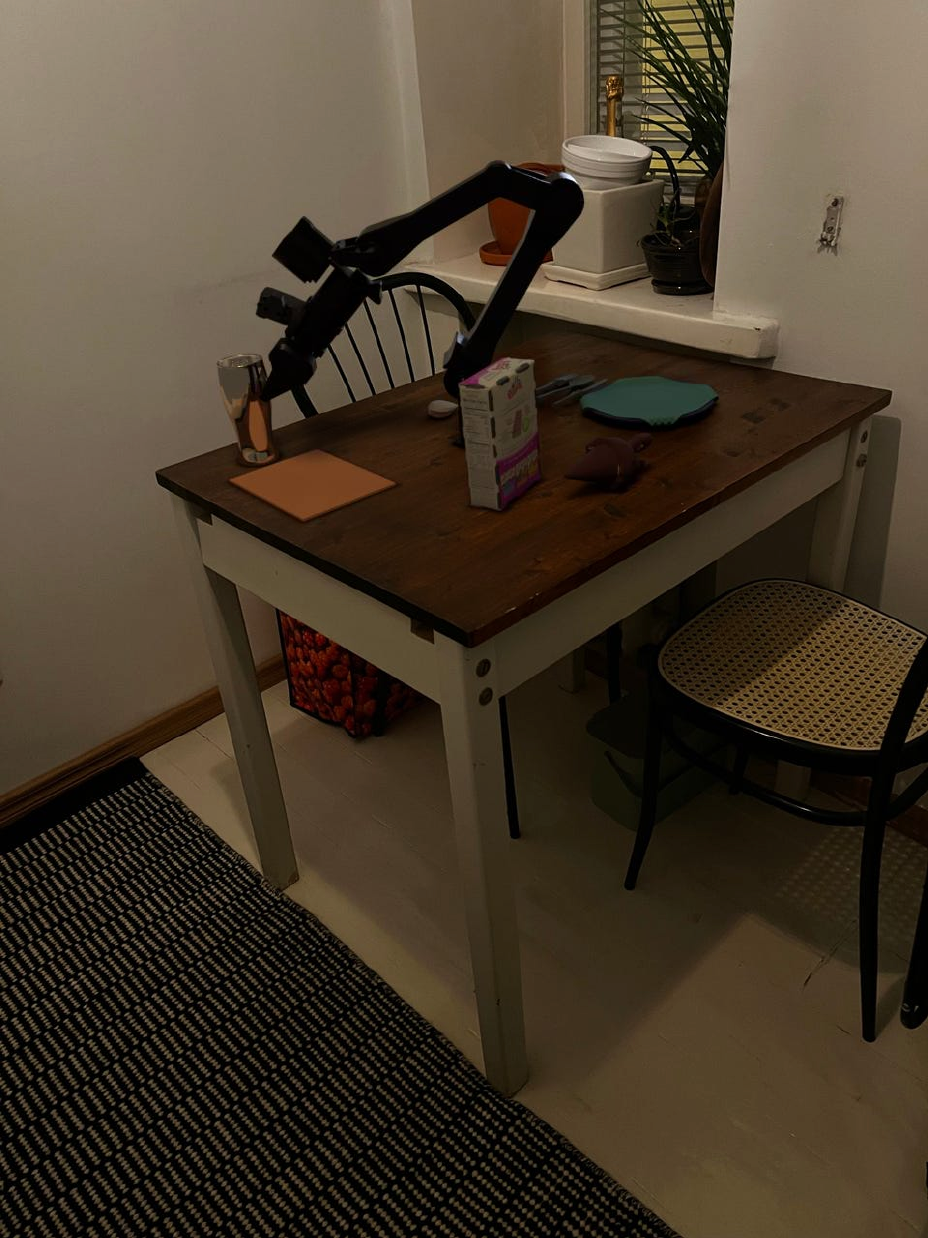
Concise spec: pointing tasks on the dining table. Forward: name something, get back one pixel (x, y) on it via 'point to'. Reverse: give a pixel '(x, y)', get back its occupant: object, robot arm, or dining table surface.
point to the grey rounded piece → (441, 408)
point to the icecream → (610, 461)
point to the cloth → (311, 484)
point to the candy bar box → (500, 432)
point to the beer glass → (248, 407)
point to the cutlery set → (637, 398)
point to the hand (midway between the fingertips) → (268, 389)
